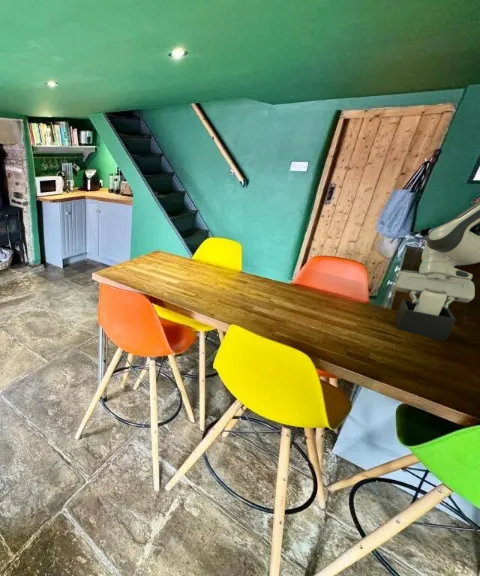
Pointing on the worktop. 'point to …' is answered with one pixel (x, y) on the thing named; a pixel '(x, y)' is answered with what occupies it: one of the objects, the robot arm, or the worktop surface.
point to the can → (431, 301)
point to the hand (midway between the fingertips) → (429, 305)
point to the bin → (424, 321)
